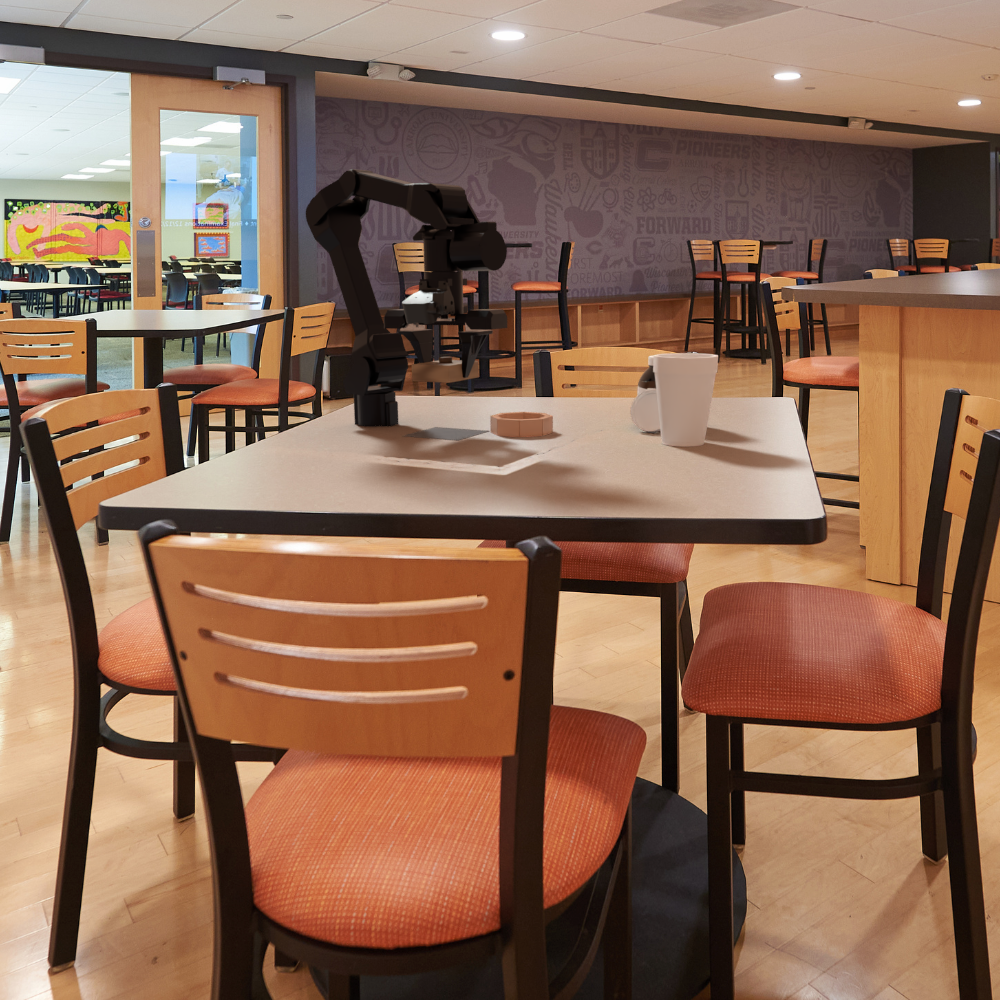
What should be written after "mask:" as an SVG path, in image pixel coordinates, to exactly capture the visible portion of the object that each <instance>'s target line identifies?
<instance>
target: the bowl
mask: <svg viewBox="0 0 1000 1000" xmlns="http://www.w3.org/2000/svg"><path fill="white" fill-rule="evenodd" d="M489 416H490V417H489V419H490V430H489V431H490V433H491V434H494V435H496V436H497V437H499V436H500V437H511V438H512V437H513V438H527V437H528V438H529V437H543V436H546V435H549V434H551V433H552V434H553V433H554V432H553V431H554V429H553V428H554V420H553V419H554V418H553V417H554V415H551V414H548V413H547V412H546V413H545V412H535V411H513V412H510V411H509V412H499V413H495V414H493V415H489Z"/></svg>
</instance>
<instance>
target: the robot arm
mask: <svg viewBox="0 0 1000 1000" xmlns="http://www.w3.org/2000/svg"><path fill="white" fill-rule="evenodd" d="M351 198H352V199H351ZM371 201H375V202H379V203H382V204H385V205H390V206H393V207H397V208H400V209H402V210H405V212H407V213H408V215H409V216H410V217H412V218H413V219H415V220H417V221H419V222H421V223H422V225H421V226H420V229H419V230H418V231H416V233H415V234H413V236H412V240H413V241H414V242H423V270H424V271H423V274H424V276H423V278H419V282H418V290H417V291H416V292H414V293H412V294H411V295H409V296H408V297H407V298H405V299H404V300H403V301H402V302H401V304H402V308H400V309H398V308H397V309H387V310H386V312H385V314H384V316H383V317H382V315H381V312H380V311H381V310H380V308H379V305H378V301H377V299H376V295H375V293H374V289H373V285H372V284H371V280H370V278H369V274H368V271H367V267H366V265H365V262H364V258H363V256H362V252H361V249H360V246H359V244H360V239H361V236H362V231H363V225H362V219H363V218H364V217H365V216H366V215H367V213H368V212H369V209H370V204H371ZM305 219H306V223H307V225H308V228H309V229H310V233H311V234H312V236H313V238H314V240H315V241H316V242H317V243H318V244H319V245H320V247H322V248H323V250H324V251H326V253H328V255H329V258H330V260H331V263H332V266H333V270H334V273H335V275H336V278H337V282H338V286H339V288H340V292H341V295H342V298H343V301H344V305H345V307H346V310H347V313H348V316H349V320H350V322H351V326H352V328H353V329H352V330H353V332H354V341H353V344H352V345H353V346H352V350H351V358H352V363H353V364H352V367H351V368H350V369H349V371H348V373H346V376H344V379H342V384H343V387H344V392H345V394H347V395H353V410H354V411H353V412H354V413H353V414H354V415H353V417H354V425H356V426H357V425H358V426H360V427H368V428H369V427H370V428H373V427H375V428H377V427H393V426H398V425H399V405H398V404H399V403H398V401H397V399H396V392H402V391H403V390H404V385H405V381H406V376H407V372H408V370H409V361H408V358H407V357H409V353H408V351H407V350H406V348H405V344H404V340H403V336H404V338H406V339H407V340H408V342H409V343H410V345H411V347H412V349H413V351H414V353H415V357H416V359H417V361H418V363H425V362H432V355H433V353H432V352H433V335H434V334H433V331H434V329H433V328H432V329H430V328H429V329H428V328H427V329H426V326H465V327H464V328H465V331H458V332H457V334H458V337H459V339H460V341H461V360H462V374H463V378H467V377H468V376H469V374H470V372H471V369H472V367H473V364H474V362H475V361H476V359H477V358H478V357H477V356H478V354H479V352H480V349H481V348H482V346H483V344H484V342H485V340H486V338H487V337H488V335H492V334H493V333H494V331H493V330H501V329H508V316H507V314H506V312H505V310H504V309H503V308H500V309H497V308H493V309H491V308H487V309H485V308H484V309H483V308H481V309H469V308H468V306H467V305H464V287H463V286H468V279H467V278H463V274H464V272H491V271H492V272H493V271H494V272H496V271H499V270H500V269H501V268H502V267H503V266H504V264H505V262H506V259H507V254H508V253H507V252H508V248H507V245H506V241H505V240H504V237H503V236H502V234H501V233H500V232H499V230H497V222H496V221H480V219H479V218H478V216H477V214H476V213H475V211H474V209H473V207H472V205H471V204H470V202H469V200H468V197H467V194H466V190H465V189H464V187H462V186H460V185H455V184H443V183H431V182H417V183H415V182H410V181H406V180H401V179H398V178H393V177H390V176H386V175H383V174H382V175H381V174H378V173H375V172H373V171H372V170H364V169H355V168H350V169H348V170H346V171H344V172H343V173H342V174H341V175H340V177H339V178H338V179H337V180H335V181H333V182H332V183H330V184H329V185H326V186H325V187H323V188H322V189H320V190H319V191H318V192H317V193H316V195H315V196H314V197H312V199H310V201H309V203H308V204H307V206H306V209H305ZM463 271H464V272H463ZM449 316H450V317H449ZM389 329H390V330H392V329H399V330H398V331H397V332H390V331H389Z"/></svg>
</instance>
